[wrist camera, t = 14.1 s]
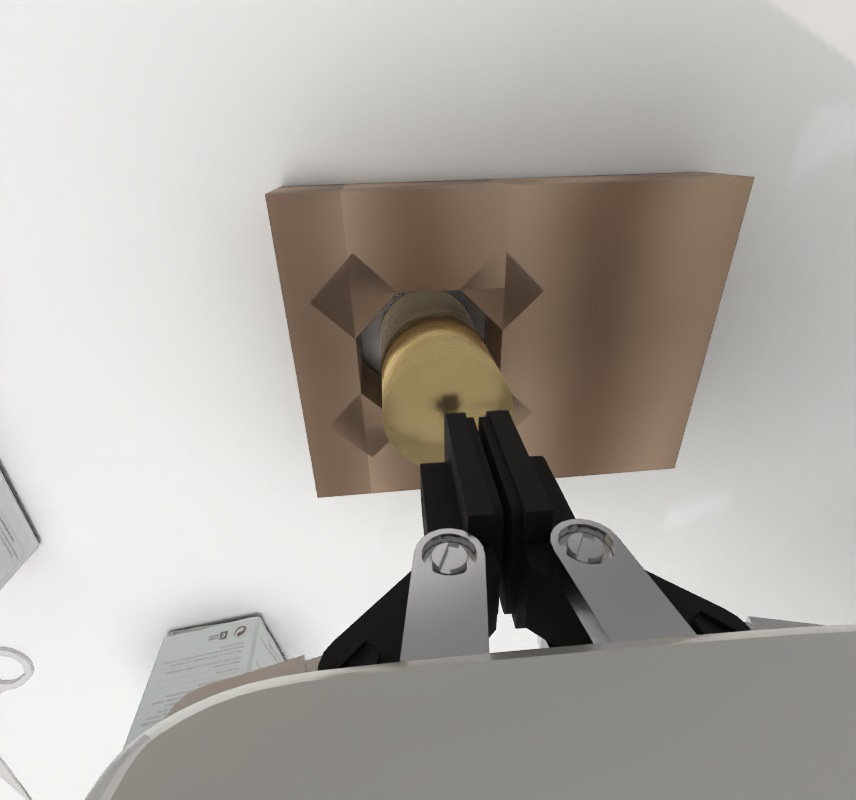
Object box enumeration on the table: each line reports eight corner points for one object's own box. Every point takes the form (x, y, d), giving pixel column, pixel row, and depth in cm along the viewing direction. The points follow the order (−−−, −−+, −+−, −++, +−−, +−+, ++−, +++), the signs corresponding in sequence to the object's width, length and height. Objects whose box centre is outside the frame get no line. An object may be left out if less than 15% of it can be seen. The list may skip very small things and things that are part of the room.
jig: (700, 172, 19) (754, 176, 16) (642, 432, 24) (674, 468, 22) (281, 186, 17) (265, 194, 15) (324, 457, 23) (317, 497, 20)
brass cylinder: (473, 286, 20) (517, 350, 14) (471, 373, 22) (509, 464, 16) (376, 291, 20) (377, 360, 13) (383, 379, 21) (387, 474, 15)
